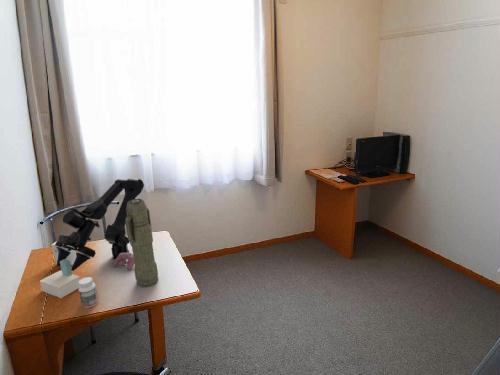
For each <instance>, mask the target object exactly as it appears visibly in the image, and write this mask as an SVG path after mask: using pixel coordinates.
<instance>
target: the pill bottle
mask: <svg viewBox="0 0 500 375" xmlns="http://www.w3.org/2000/svg"><path fill="white" fill-rule="evenodd" d="M79 286H80V287H79V288H78V293H79V297H80V302H81V306H82V307H83V308H86V309H87V308H92V307H94V306H96V305H97V304H98V303H99V296H98V292H97V286H96V284H95V282H94V280H93V278H92V277H90V276H86V277H82V278H80V281H79Z"/></svg>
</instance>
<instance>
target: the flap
mask: <svg viewBox="0 0 500 375" xmlns="http://www.w3.org/2000/svg"><path fill="white" fill-rule="evenodd" d="M71 266H72V265H70V261H68V260H65V259H64V260H62V261H60V266H59V267H60V270H58V271H56V272H54V273H53V274H50V275H48V276H47V277H45V278H42V279H41V280H39V283H40V282H41V283H43V284H46V285H49V286H52V287H54V288H57V289H60V288H62V287H64V286H65V285H67V284H69V283H71V282H73V281H74V280H76V279H78V278H80V276H79V275H76V274H74V273H73V271H72V270H71V269H72V267H71ZM80 279H81V278H80Z"/></svg>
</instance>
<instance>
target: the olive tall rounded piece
mask: <svg viewBox="0 0 500 375" xmlns="http://www.w3.org/2000/svg"><path fill="white" fill-rule="evenodd" d="M126 211H127V217H126V220H125V223H126V224H125V230H126V234H127V237H128V241H130V242H129V245H130V246H131V251H132V254H133V257H134V263H135V264H134V266H133V271H134V276H135V280H136V285H137V286H138V287H141V288H148V287H151V286H154V285H155V284H157V283H158V282H159V276H158V275H159V272H158V265H157V264H158V263H157V262H156V261H155V253H154V246H153V242H154V238H153V229H152V228H153V227H152V222H151V221H152V220H151V214H150V210H149V208H148V206H147V204H146V203H145V201H144V199H142V198H135V199H133V200H130V201H129V202H127V208H126Z"/></svg>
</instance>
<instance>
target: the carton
mask: <svg viewBox="0 0 500 375" xmlns="http://www.w3.org/2000/svg"><path fill="white" fill-rule="evenodd" d="M80 280H81V278H78V279H76V280H74V281H73V282H71V283H69V284H67V285H65V286H64V287H62V288H60V289H57V288H54V287H52V286H49V285H46V284H43V283H41V282H40V281H39V284H40V288H41V292H44V293H46V294H49V295H51V296H53V297H56V298H59V299H63V298H64V297H66V296H68V295H69V294H71V293H73V292H74V291H76V290H79V287H80V286H79V281H80Z"/></svg>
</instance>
